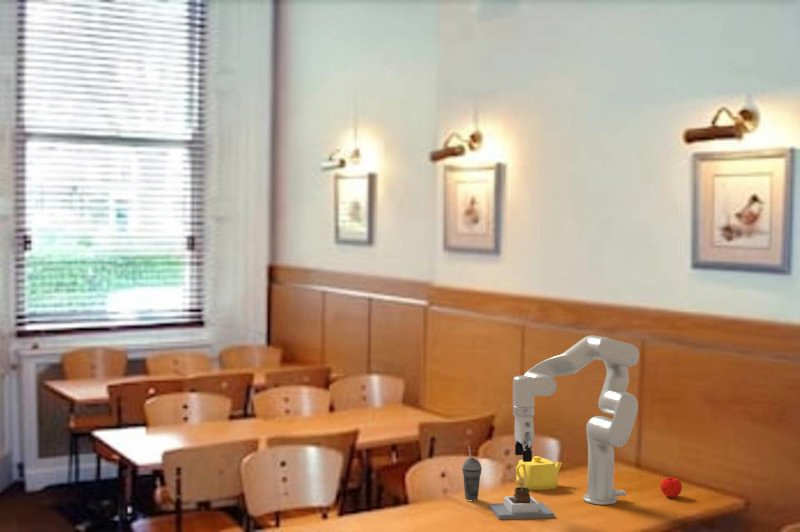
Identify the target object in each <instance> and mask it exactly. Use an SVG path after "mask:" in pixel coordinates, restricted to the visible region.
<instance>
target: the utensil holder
mask: <svg viewBox="0 0 800 532" xmlns="http://www.w3.org/2000/svg"><path fill="white" fill-rule="evenodd" d="M525 479H526V477H525ZM525 484H526V483H525ZM523 485H524V476H523V483H522V477H521V480H520V486H519V487H518V486H517V487H515V488H514V494H513V496H514V504H520V503H530V496H531V495H530V492H531V491H529V489H528V488H525V487H526V486H525V487H522V486H523Z"/></svg>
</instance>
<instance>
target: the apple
mask: <svg viewBox="0 0 800 532" xmlns="http://www.w3.org/2000/svg"><path fill="white" fill-rule="evenodd" d="M682 485H683V484H682V483H681V481H680V480H679V479H678V478H676V477H675V478H674V477H665V478H663V479H662V480H661V482H660V484H659V487H660V490H661V492H662V494H663V495H664V496H666V497H667V498H673V499H674V498H678V496H679V495H680V494H681V492H682V489H683V486H682Z"/></svg>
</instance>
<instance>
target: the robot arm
mask: <svg viewBox="0 0 800 532" xmlns="http://www.w3.org/2000/svg"><path fill="white" fill-rule="evenodd" d="M594 360H599V361H603V363H604V365H605V366H604V367H605V371H606V374H605V375H606V376H605V379H604V381H603V382H604V383H603V386H602V389H601V392H600V395H599V398H598V403H597V404H598V406H597V407H598V408H599V410H600V412H602V413H605V414H607V415H611V416H612V417H613V418H610V417H608V416H604V415H595V416H593V417H591V418H590V419H589V420H588V421H587V423H586V428H585V430H586V431H585V432H586V433H585V434H586V438H587V440H586V441H587V449H588V450H587V452H588V453H587V455H588V456H587V489H586V490H587V491H586V494H584V495H582V500H583V501H584V502H586V503H590V504H592V505H593V504H594V505H599V506H600V505H602V506H603V505H604V506H605V505H606V506H607V505H608V506H609V505H614V504H616V503H618V497H619V496H621V497H625V496H626V495H627V492H626V490H620V489H615V488H614V479H615V478H614V475H615V473H614V472H615V471H614V470H615V469H614V468H615V452H614V451H615V450H614V447H615V448H616V447H617V448H621V447H623V446H625V445H626V444H627V443H628V441H629V439H630V437H631V434H632V430H633V427H634V425H635V421H636V418H637V415H638V411H639V402H638V400H637V398H636V397H635V395H634V394H633V393H631V392H628V391H627V390H628V385H629V381H630V373H629V369H628V368H630V367H633V366H636V364H637V363H638V362H639V360H640V351H639V349H638V347H637V346H635V345H634V344H632V343H628V342H624V341H620V340H615V339H613V338H609V337H606V336H599V335H593V334H592V335H587V336H585V337H583V338H582V339H581V340H579V341H578V342H576V343H575V344H573V345H572V346H570V348H568V349H566V350H565V351H563V352H562V353H561V354H558V355H555V356H553V357H550V358H547V359H545V360H542V361H540V362H538V363H537V364H535V365H534V366H532V367H531V368H529V369H528V370H527V371H526V372H525V373H524V374H523V375H516V376H514V377H513V379H512V415H513V416H514V427H513V428H514V433H513V434H514V435H513V436H514V442H515V443H514V455H515V456H522V460H523V462H531V461H532V459H533V444H534V443H535V425H534V422H535V421H534V418H533V417H534V416H535V397H536V396H539V397H548V396H551V395H553V394H554V393H555V392H556V390H557V387H558V384H557V380H556V379H555V378H556V377H562V376H569V375H574V374H576V373H578V372H579V371H581V370H582V369H584V367H586V366H587V365H589V364H590V363H591V362H593V361H594Z"/></svg>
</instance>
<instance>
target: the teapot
mask: <svg viewBox="0 0 800 532" xmlns="http://www.w3.org/2000/svg"><path fill="white" fill-rule="evenodd" d="M562 465H563V463H562V462H561V461H556V463H555V462H554V461H552V460H550V459H547V458H543V457H541V456H539V455H535V456H532V461H531V462H523V459H519V461H518V464H517V465H516V466H515V472H516V476H515V477H516V481H515V482H516V484H517V485H518V486H519V485H520V480H521V477H522V483H523V476H524V485H523V486H522V487H525V486H526V487H525V488H528V489H529V490H537V491H547V490H548V491H549V490H555V489H557V487H558V473H559V472H560V469H561V467H562ZM525 477H526V479H525ZM525 483H526V484H525Z"/></svg>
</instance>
